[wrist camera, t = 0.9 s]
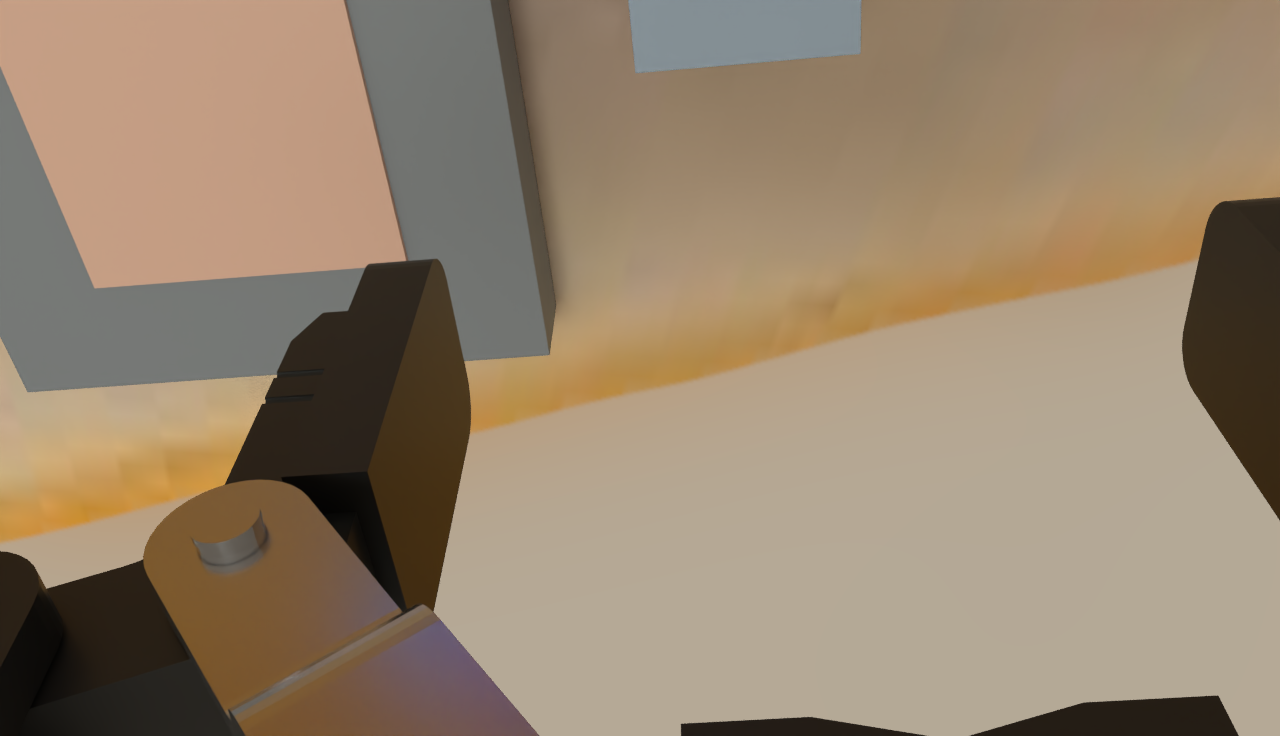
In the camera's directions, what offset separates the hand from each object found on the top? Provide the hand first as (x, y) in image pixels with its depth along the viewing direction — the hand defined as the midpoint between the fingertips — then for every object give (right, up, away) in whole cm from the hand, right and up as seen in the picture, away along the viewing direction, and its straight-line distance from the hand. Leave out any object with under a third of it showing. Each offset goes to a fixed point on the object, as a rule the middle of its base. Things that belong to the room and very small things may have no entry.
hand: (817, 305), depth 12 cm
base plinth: (-13, +7, +20) cm, 25 cm away
